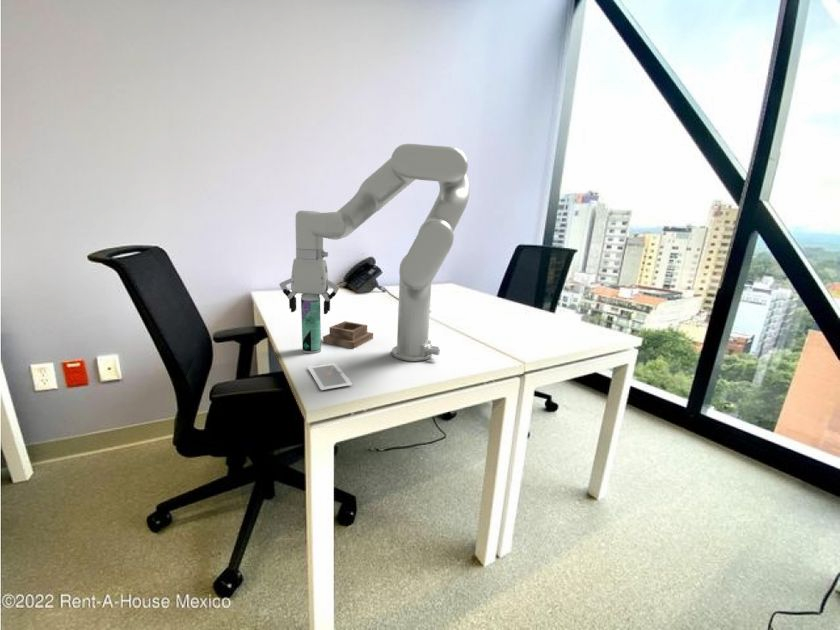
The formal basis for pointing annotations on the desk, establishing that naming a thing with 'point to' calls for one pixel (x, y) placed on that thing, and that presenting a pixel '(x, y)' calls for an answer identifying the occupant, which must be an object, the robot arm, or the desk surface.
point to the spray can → (311, 323)
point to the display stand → (348, 335)
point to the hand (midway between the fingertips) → (309, 312)
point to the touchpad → (329, 376)
